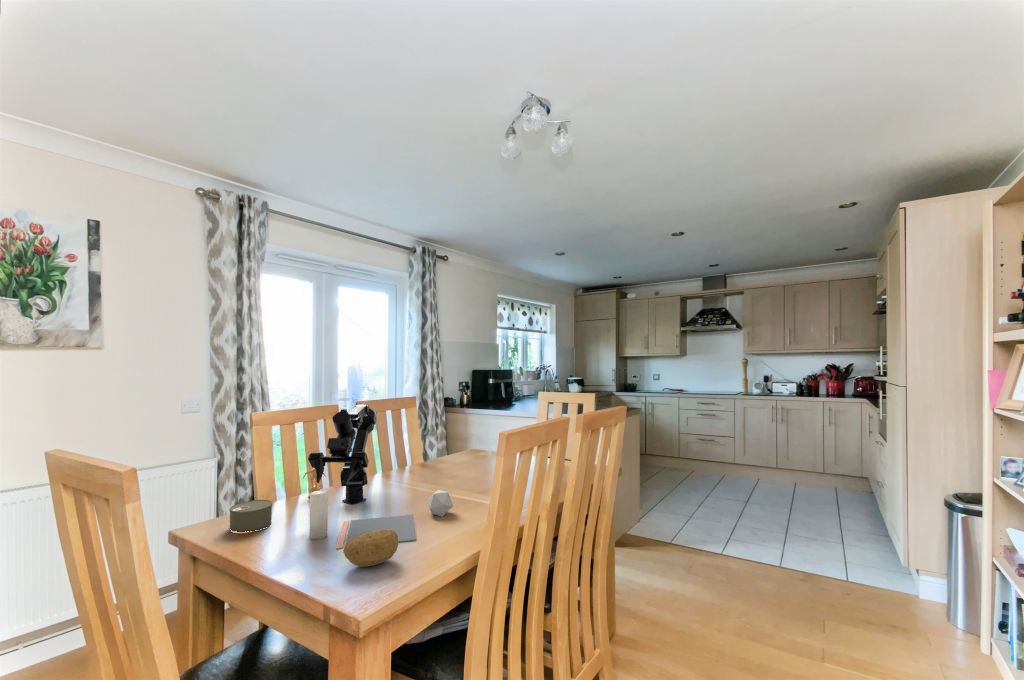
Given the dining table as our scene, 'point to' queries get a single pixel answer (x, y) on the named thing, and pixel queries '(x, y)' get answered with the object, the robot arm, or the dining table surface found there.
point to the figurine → (313, 487)
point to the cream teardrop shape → (318, 514)
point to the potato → (371, 548)
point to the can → (250, 515)
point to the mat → (384, 527)
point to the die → (440, 503)
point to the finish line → (342, 535)
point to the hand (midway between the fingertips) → (332, 482)
